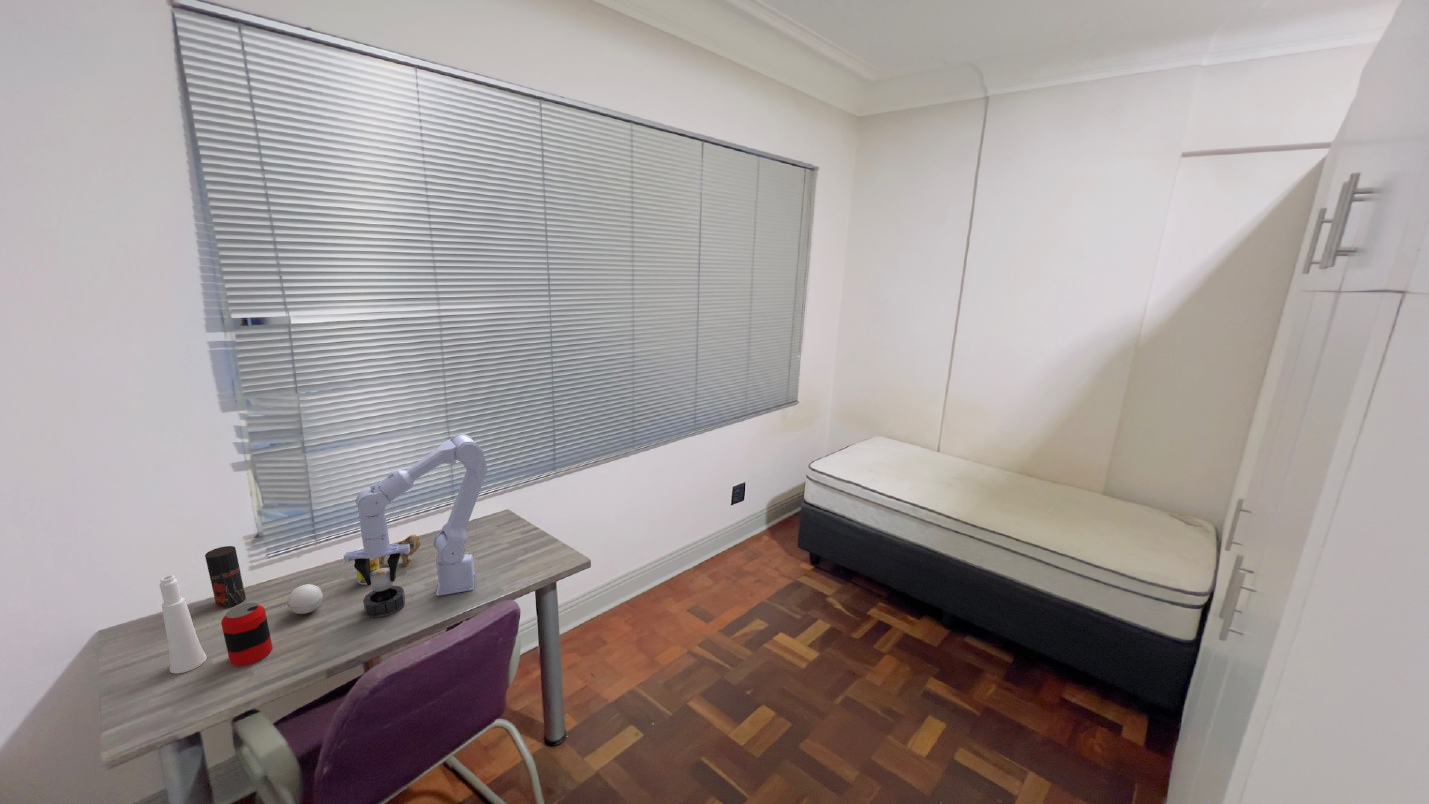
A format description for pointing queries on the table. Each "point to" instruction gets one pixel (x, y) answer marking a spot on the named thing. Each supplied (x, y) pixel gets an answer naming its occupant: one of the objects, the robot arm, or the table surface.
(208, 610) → the table surface
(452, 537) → the robot arm
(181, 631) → the cosmetic bottle
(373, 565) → the supplement bottle
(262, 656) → the soda can
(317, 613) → the table surface
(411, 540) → the lion figurine
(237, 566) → the deodorant
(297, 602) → the white egg
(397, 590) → the dark grey round ring
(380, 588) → the boiled egg half
